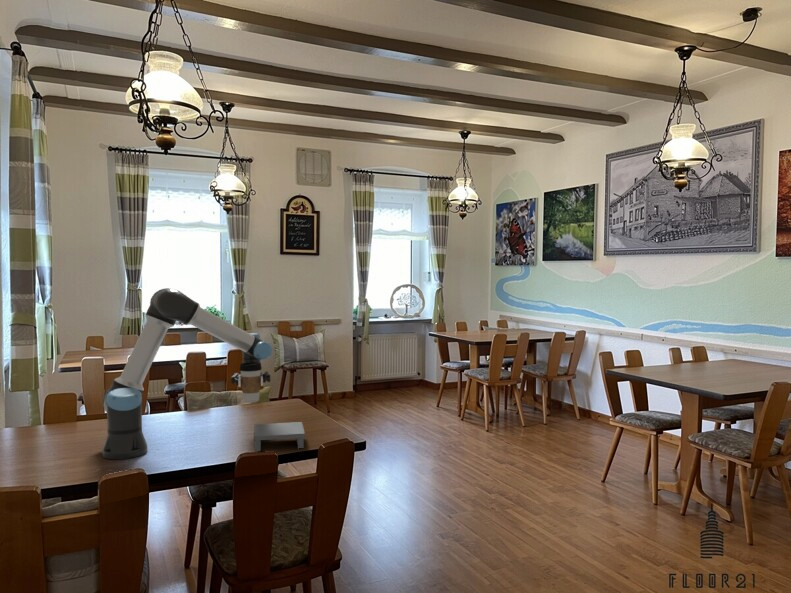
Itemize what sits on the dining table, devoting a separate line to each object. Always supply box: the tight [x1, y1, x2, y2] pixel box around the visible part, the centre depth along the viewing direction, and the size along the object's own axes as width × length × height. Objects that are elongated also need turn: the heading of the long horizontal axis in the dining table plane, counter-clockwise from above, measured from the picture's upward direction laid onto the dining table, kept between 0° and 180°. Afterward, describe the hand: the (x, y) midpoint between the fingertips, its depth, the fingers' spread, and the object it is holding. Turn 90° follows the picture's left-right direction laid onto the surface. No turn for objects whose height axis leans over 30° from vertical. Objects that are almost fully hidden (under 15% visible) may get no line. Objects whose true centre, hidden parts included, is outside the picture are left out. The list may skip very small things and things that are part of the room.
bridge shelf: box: [253, 421, 306, 453], centre depth 227 cm, size 19×18×6 cm
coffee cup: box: [239, 361, 262, 404], centre depth 225 cm, size 8×8×15 cm
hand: (250, 382), depth 220 cm, fingers closed on coffee cup, 8 cm apart
